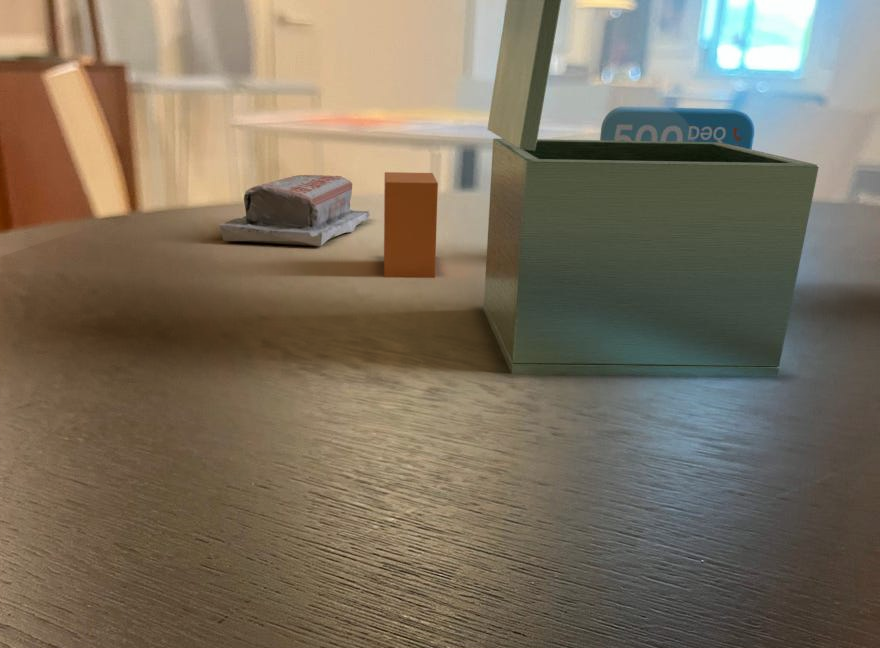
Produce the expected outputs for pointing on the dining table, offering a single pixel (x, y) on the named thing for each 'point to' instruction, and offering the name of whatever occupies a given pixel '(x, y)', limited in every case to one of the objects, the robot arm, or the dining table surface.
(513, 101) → the bin lid
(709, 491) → the dining table surface
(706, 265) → the bin
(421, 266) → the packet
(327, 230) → the packaged product
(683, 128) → the data package
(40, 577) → the dining table surface
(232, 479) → the dining table surface
